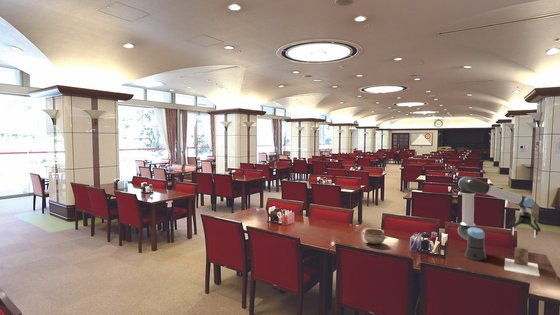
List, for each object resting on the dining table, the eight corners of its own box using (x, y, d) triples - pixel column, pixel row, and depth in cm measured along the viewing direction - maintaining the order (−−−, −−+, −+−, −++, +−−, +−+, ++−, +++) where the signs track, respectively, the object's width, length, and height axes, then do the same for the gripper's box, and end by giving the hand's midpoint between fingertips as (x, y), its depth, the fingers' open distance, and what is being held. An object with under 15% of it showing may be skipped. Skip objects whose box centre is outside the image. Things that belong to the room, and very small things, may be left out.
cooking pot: (391, 244, 286) (391, 231, 285) (382, 249, 272) (382, 235, 271) (366, 238, 303) (366, 226, 302) (357, 243, 289) (357, 230, 289)
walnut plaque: (514, 263, 238) (514, 248, 237) (514, 262, 241) (515, 246, 240) (527, 266, 232) (527, 250, 232) (527, 264, 235) (528, 249, 235)
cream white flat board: (539, 277, 214) (539, 276, 214) (504, 270, 227) (504, 269, 227) (537, 265, 237) (537, 264, 237) (505, 259, 249) (505, 258, 249)
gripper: (545, 219, 248) (544, 242, 237) (507, 214, 265) (504, 236, 254) (545, 213, 244) (544, 236, 233) (506, 209, 260) (503, 231, 250)
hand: (523, 236), depth 244 cm, fingers open, 13 cm apart
